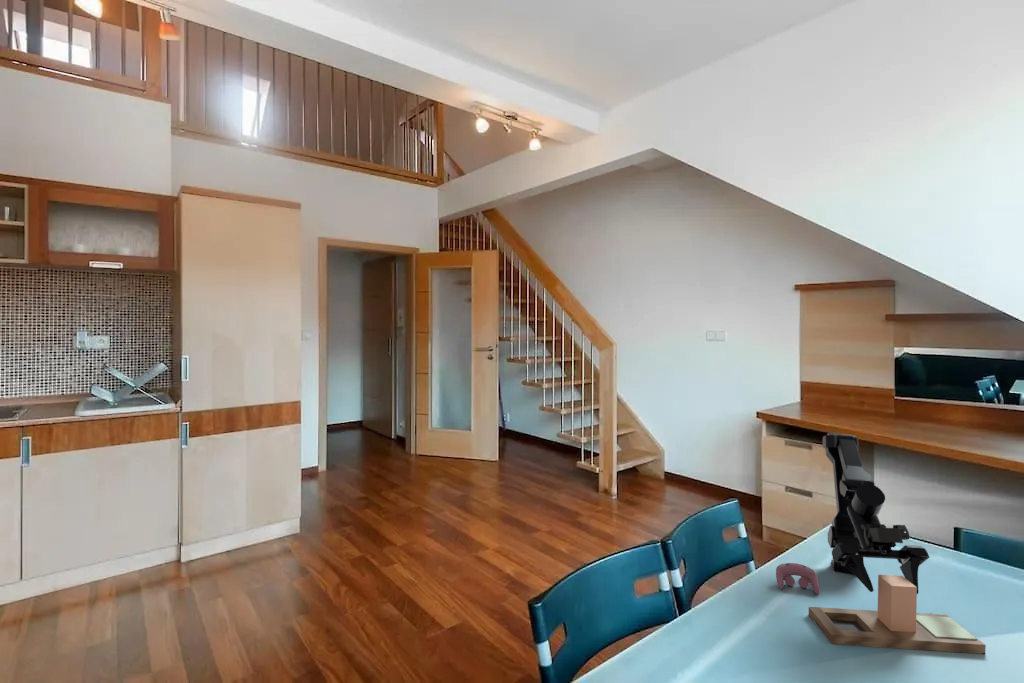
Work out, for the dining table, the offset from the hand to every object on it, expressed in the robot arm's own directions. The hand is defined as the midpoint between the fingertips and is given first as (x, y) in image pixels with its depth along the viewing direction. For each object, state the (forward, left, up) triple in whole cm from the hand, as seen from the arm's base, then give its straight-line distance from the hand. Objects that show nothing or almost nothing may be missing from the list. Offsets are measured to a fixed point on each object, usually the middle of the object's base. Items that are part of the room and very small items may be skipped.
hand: (894, 592), depth 113 cm
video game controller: (-18, +12, -9) cm, 24 cm away
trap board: (0, -1, -9) cm, 9 cm away
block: (0, -1, -7) cm, 7 cm away
